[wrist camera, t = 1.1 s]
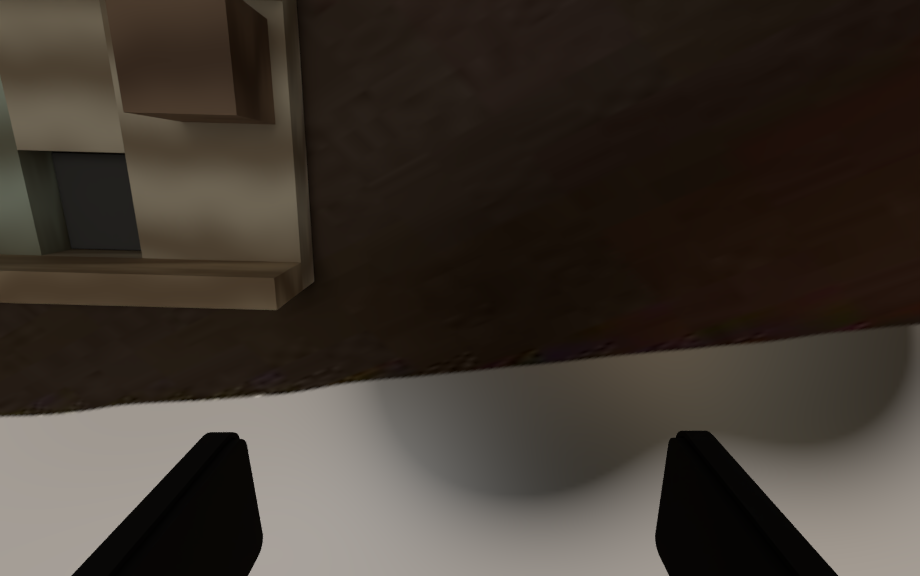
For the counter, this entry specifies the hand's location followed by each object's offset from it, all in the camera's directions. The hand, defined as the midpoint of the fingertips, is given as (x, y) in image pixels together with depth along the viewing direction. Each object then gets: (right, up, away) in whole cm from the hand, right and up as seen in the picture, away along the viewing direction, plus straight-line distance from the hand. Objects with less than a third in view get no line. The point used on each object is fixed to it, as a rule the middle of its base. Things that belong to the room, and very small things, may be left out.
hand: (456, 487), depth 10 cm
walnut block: (-15, +18, +18) cm, 29 cm away
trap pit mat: (-25, +11, +22) cm, 35 cm away
